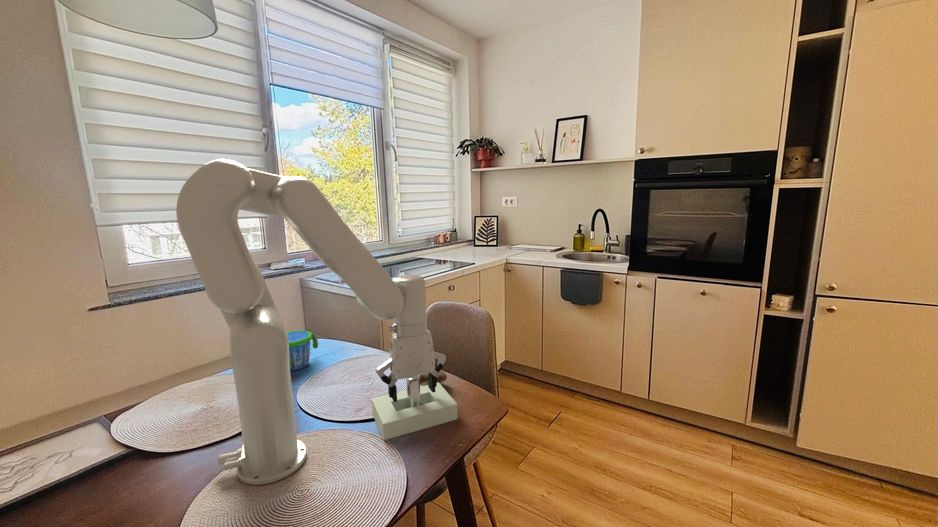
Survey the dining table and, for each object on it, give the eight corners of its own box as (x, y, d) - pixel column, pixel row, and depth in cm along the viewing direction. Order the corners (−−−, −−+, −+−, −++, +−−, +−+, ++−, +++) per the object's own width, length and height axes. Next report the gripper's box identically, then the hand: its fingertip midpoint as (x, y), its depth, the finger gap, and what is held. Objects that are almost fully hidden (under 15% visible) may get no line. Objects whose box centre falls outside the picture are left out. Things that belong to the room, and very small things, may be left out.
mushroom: (441, 388, 101) (436, 364, 104) (415, 396, 103) (411, 372, 106) (453, 389, 108) (448, 367, 111) (428, 396, 110) (424, 374, 113)
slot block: (383, 440, 85) (382, 424, 84) (372, 413, 96) (371, 398, 95) (457, 419, 93) (457, 404, 92) (439, 396, 103) (438, 382, 103)
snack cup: (279, 380, 113) (276, 347, 111) (263, 370, 120) (260, 339, 118) (327, 362, 125) (325, 332, 123) (310, 354, 132) (308, 325, 130)
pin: (409, 421, 92) (408, 382, 90) (405, 414, 95) (404, 377, 93) (422, 417, 93) (421, 379, 92) (418, 411, 96) (417, 374, 95)
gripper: (377, 339, 83) (381, 411, 86) (450, 326, 90) (452, 393, 94) (370, 328, 90) (374, 395, 93) (439, 317, 97) (440, 380, 100)
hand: (413, 394), depth 93 cm, fingers open, 9 cm apart
